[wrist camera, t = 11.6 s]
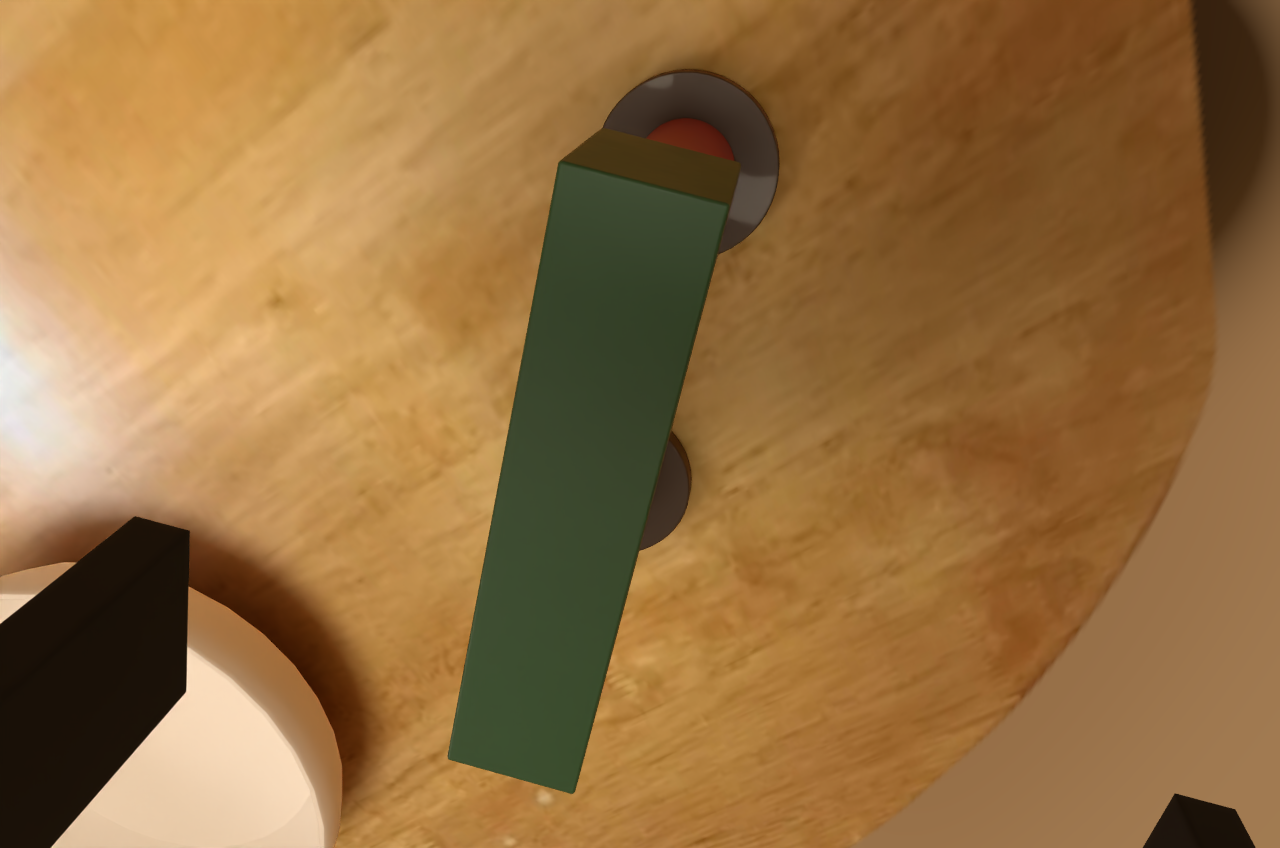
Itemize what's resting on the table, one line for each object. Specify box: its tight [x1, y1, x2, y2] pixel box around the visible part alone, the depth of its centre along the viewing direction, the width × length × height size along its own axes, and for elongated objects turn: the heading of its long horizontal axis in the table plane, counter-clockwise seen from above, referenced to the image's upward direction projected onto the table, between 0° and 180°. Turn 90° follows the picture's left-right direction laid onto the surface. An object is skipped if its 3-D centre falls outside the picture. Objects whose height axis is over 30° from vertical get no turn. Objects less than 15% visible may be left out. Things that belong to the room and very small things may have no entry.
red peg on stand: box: [603, 70, 779, 254], centre depth 29 cm, size 6×6×9 cm
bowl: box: [0, 562, 342, 848], centre depth 43 cm, size 20×20×6 cm
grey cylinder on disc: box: [639, 432, 691, 551], centre depth 34 cm, size 6×6×9 cm
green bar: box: [448, 128, 741, 794], centre depth 25 cm, size 4×16×5 cm, turn 167°
